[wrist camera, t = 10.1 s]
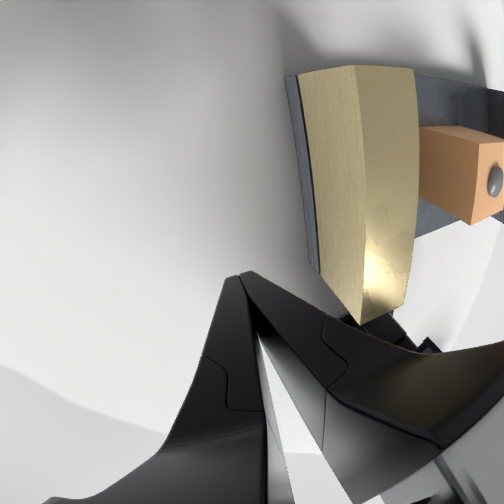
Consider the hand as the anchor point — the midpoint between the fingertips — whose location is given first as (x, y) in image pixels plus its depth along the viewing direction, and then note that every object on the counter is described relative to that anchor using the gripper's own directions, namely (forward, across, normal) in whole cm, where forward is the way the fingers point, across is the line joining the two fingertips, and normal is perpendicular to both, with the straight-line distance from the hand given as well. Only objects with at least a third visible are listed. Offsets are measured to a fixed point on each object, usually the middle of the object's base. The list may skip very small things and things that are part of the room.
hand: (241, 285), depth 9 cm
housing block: (+6, -16, 0) cm, 18 cm away
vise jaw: (+6, -7, 0) cm, 9 cm away
